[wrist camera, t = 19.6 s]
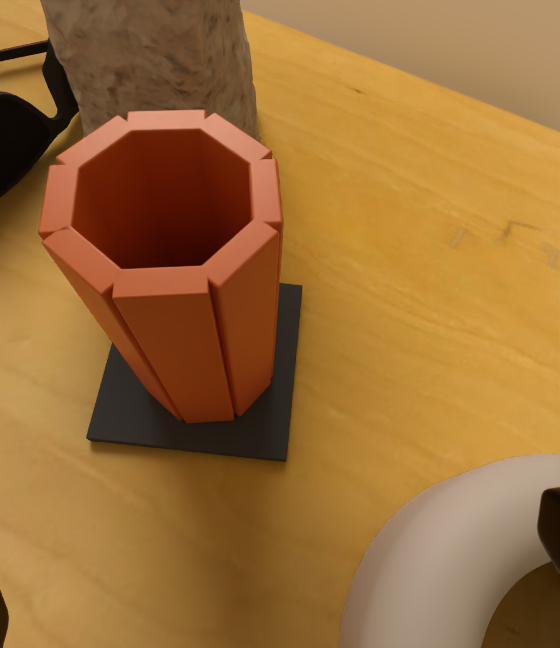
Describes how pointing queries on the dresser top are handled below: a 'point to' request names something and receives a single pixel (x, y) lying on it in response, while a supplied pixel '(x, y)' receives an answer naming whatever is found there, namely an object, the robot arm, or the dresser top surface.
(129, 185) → the octagonal orange vase
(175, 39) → the decorative stone
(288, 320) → the felt mat
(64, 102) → the sunglasses
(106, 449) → the dresser top surface
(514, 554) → the fat ring
